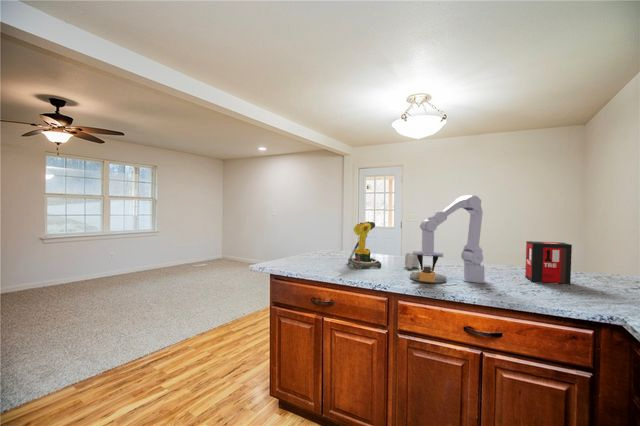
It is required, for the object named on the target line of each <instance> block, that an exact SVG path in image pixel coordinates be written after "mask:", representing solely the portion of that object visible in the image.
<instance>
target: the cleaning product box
mask: <svg viewBox="0 0 640 426" xmlns="http://www.w3.org/2000/svg"><path fill="white" fill-rule="evenodd" d="M525 242H526V247H525V275H524V277H525V279H526V278H527V279H528V281H529V280H530V281H531V282H530V281H529V282H530V283H534V282H542V283H541V284H548V283H558V284H557V285H562V284H569V285H568V286H571V280H572V279H571V278H572V277H571V275H572V251H573V248H572V247H573V244H570V243H567V242H558V241H557V242H556V241H554V242H553V241H531V240H529V241H528V240H527V241H525ZM527 279H526V280H527Z"/></svg>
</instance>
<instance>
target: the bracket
mask: <svg viewBox="0 0 640 426" xmlns="http://www.w3.org/2000/svg"><path fill="white" fill-rule="evenodd" d="M411 274H412V277H418V278H419V281H428V282H434V281H435V274H436V270H435V269H434V271H432V270H431V273H424V269H423V270H421V269H420V270H419V271H416V270H415V271H414V270H412V271H411Z"/></svg>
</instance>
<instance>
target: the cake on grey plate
mask: <svg viewBox="0 0 640 426" xmlns="http://www.w3.org/2000/svg"><path fill="white" fill-rule="evenodd" d="M432 267H433V266H431V270H432ZM423 269H424V266H423ZM409 275H410V276H409V279H411V281H414V282H417V283H422V284H431V285H432V284H433V285H435V284H438V283H439V284H443V283H444V282H445V283H446V282H447V277H446V276H445V275H443V274H439V273H435V281H434V282H428V281H419V278H418V277H412V273H410V274H409Z"/></svg>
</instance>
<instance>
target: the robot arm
mask: <svg viewBox="0 0 640 426" xmlns="http://www.w3.org/2000/svg"><path fill="white" fill-rule="evenodd" d="M459 209H463V210H466V211H467V213H468V214H469V225H468V232H467V233H468V234H467V240H466V241H467V242H466V244H465V245H464V246H463V249H462V252H461V255H460V256H461V259H462V260H463V277H462V281H463V282H469V283H479V284H480V283H481V284H485V279H486V276H485V264H482V262H483V260H484V255H483V248H481V246H480V238H481V232H482V231H481V230H482V221H483V220H482V219H483V209H482V199H481V198H479V196H478V195H474V194H473V195H461V196H460V197H458V198H456V199H455V201H453V202H452V203H451V204H449V205H448V206H447V207H446V208H444V209H443V210H436V211H435V212H434V214H432V215H431V216H428V217H427V219H424V220H422V221H421V223H420V224H419V228H420V229H421V250H420V251H418V250H416V251H415V250H414V251H412V254H413V255H417V258H418V260H419V267H420V270H423V267H424V264H423V261H424V257H432V266H431V267H432V271H434V270H435V267H436V264H437V261H438V259H439V258H444V253H443V252H438V251H436V252H435V231H436V230H437V228H438V227H439V226H440V225H441V224H443V223H444V222H445V221H446V220H448V216H450V215H451V214H453V213H455V212H456V211H457V210H459Z"/></svg>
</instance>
